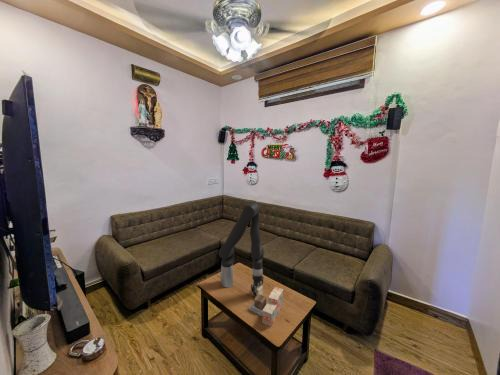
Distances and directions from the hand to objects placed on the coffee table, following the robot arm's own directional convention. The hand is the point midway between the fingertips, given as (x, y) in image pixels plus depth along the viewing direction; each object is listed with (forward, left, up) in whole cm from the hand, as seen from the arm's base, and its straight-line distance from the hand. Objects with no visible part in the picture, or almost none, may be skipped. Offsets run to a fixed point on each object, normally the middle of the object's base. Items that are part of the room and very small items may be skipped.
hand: (257, 292), depth 156 cm
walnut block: (+9, -10, 0) cm, 13 cm away
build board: (+9, -10, -1) cm, 13 cm away
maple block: (0, 0, -1) cm, 1 cm away
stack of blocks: (+19, -9, -1) cm, 21 cm away
